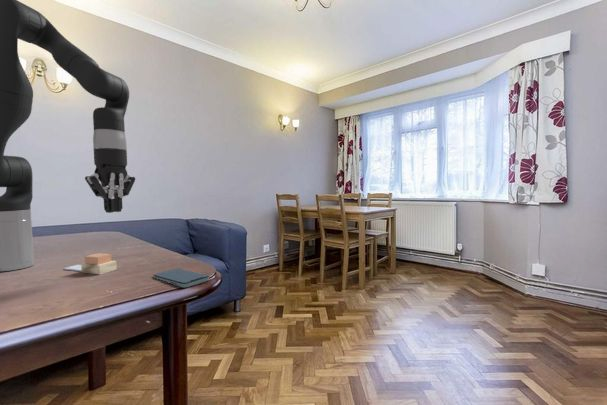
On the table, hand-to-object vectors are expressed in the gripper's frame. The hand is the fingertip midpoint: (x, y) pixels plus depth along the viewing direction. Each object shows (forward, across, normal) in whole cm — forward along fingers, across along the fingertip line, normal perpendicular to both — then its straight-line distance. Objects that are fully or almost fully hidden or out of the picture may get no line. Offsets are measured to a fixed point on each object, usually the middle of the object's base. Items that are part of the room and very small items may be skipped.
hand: (113, 211), depth 81 cm
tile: (+15, 0, -7) cm, 16 cm away
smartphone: (+18, -1, +21) cm, 28 cm away
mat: (+17, 0, -14) cm, 22 cm away
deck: (+17, 0, -6) cm, 18 cm away
